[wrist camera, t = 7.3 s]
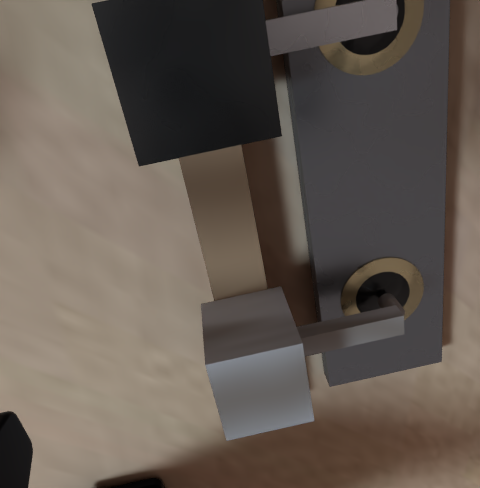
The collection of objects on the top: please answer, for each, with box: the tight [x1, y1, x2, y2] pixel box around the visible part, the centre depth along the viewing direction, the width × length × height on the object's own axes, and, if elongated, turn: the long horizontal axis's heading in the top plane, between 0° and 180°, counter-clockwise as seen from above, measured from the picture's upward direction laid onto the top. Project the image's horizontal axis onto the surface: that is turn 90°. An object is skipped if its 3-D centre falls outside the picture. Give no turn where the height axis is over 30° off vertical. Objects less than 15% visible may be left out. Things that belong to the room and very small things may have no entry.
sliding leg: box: [92, 0, 398, 166], centre depth 12 cm, size 4×9×8 cm, turn 100°
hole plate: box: [276, 0, 450, 387], centre depth 19 cm, size 22×6×1 cm, turn 10°
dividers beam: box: [179, 145, 405, 441], centre depth 17 cm, size 25×9×6 cm, turn 10°
